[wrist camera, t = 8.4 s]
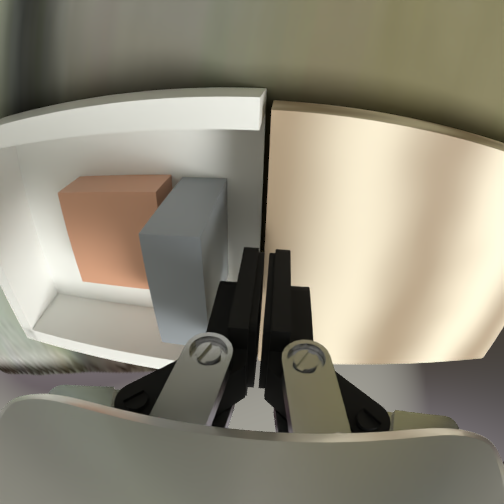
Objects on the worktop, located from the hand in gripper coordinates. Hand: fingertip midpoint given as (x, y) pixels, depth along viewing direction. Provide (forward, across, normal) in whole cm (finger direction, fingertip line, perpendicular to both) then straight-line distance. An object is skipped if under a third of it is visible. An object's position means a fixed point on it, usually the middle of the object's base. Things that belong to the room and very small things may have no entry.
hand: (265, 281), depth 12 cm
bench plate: (+4, -7, 0) cm, 8 cm away
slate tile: (+1, +2, 0) cm, 2 cm away
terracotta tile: (+2, +7, 0) cm, 7 cm away
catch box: (+4, +8, 0) cm, 9 cm away
